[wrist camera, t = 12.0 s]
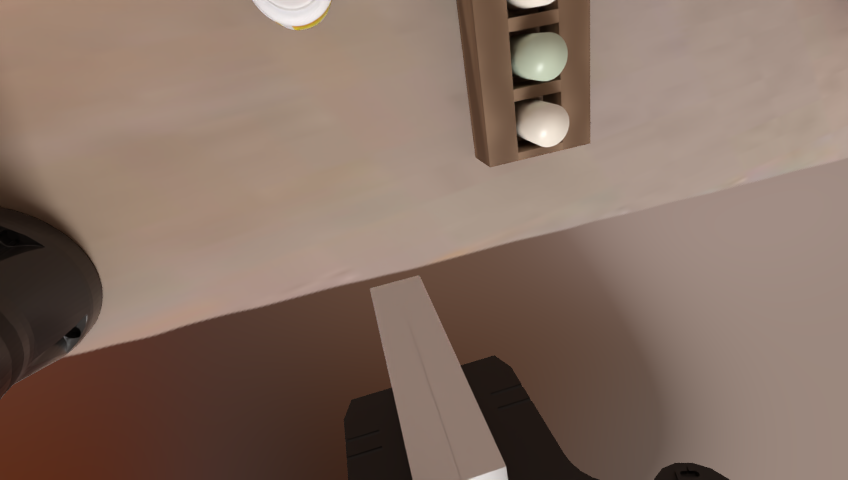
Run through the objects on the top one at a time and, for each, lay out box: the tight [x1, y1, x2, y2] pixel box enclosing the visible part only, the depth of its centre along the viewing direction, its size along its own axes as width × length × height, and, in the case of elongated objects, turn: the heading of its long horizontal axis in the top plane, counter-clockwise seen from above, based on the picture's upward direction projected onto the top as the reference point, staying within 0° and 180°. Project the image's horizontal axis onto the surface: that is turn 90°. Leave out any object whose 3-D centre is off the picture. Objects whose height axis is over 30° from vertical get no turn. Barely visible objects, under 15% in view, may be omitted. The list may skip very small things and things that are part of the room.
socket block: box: [457, 0, 590, 167], centre depth 38 cm, size 10×17×4 cm, turn 10°
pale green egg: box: [509, 32, 568, 81], centre depth 37 cm, size 4×4×5 cm
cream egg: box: [514, 98, 569, 147], centre depth 39 cm, size 4×4×5 cm
